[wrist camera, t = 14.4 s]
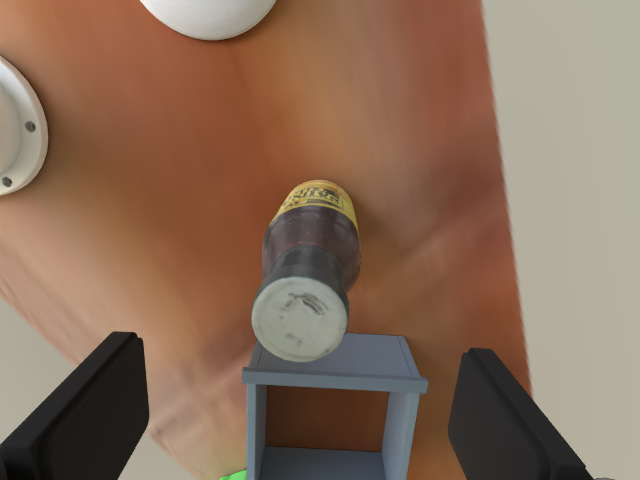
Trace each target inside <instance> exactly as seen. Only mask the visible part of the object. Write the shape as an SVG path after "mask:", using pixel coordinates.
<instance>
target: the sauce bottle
mask: <svg viewBox="0 0 640 480" xmlns="http://www.w3.org/2000/svg"><path fill="white" fill-rule="evenodd" d="M360 259H361V252H360V238H359V232H358V227H357V222H356V217H355V213H354V208H353V205H352V201H351V199H350V198H349V196H348V195H347V193H346V192H345V191H344V190H343V189H342V188H341V187H339V186H338V185H336V184H335V183H333V182H331V181H326V180H311V181H307V182H305V183H302V184H300V185H299V186H297V187H296V188H295V189H293V190H292V191H291V192H290V194H289V195H288V197H287V198H286V200H285V201H284V203H283V204H282V206H281V207H280V209H279V210H278V212H277V214H276V216H275V217H274V218H273V220H272V221H271V223H270V224H269V226H268V228H267V230H266V232H265V234H264V238H263V253H262V280H263V283H262V284H261V286H260V287H259V289H258V291H257V293H256V297H255V300H254V302H253V307H252V317H251V319H252V326H253V329H254V333H255V335H256V337H257V338H258V340H259V342H260V343H261V344H262V345H263V346H264V347H265V348H266V349H267V350H268V351H270V352H271V353H272V354H274V355H276V356H278V357H281V358H282V359H284V360H290V361H293V362H310V361H314V360H317V359H319V358H321V357H323V356H326V355H328V354H330V353H331V352H333V351H334V350H335V349H336V348H337V347H338V346H339V345H340V343H341V342H342V340H343V338H344V335H345V333H346V331H347V325H348V318H349V301H348V298H347V295H346V294H347V293H348V292H349V291H350V289H351V288H352V287H353V285H354V283H355V281H356V279H357V277H358V275H359V270H360V264H361V262H360Z"/></svg>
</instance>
